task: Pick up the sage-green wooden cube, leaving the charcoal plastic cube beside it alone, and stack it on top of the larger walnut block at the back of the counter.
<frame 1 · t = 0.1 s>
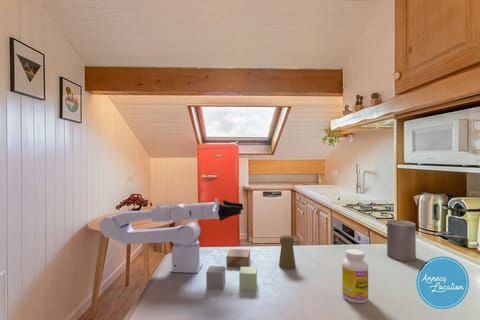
hand: (241, 208, 95), 22 cm above the worktop, tool horizontal, fingers open, 7 cm apart
green cube: (248, 286, 83), on the worktop
supplement bottle: (355, 298, 75), on the worktop
pillar candle: (401, 257, 106), on the worktop
cork: (287, 266, 99), on the worktop
grey cube: (216, 285, 84), on the worktop
walnut block: (238, 263, 103), on the worktop
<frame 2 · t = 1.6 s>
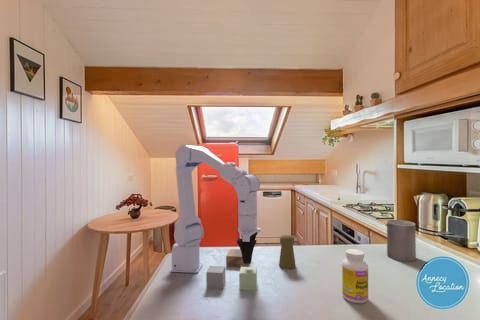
hand: (248, 258, 83), 8 cm above the worktop, tool pointing down, fingers open, 7 cm apart
nothing on the worktop moved.
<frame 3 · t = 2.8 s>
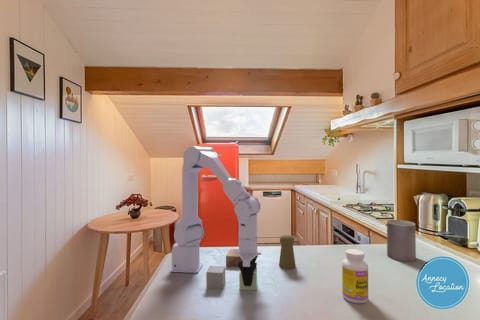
hand: (248, 281, 83), 1 cm above the worktop, tool pointing down, fingers closed on green cube, 5 cm apart
green cube: (248, 286, 83), on the worktop, touching gripper
everything else where it was.
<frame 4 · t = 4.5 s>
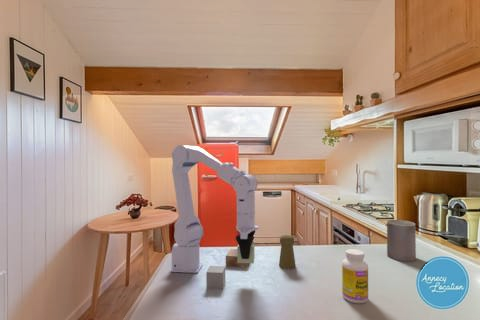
hand: (246, 255, 86), 8 cm above the worktop, tool pointing down, fingers closed on green cube, 5 cm apart
green cube: (246, 260, 86), point 7 cm above the worktop, touching gripper
everything else where it was.
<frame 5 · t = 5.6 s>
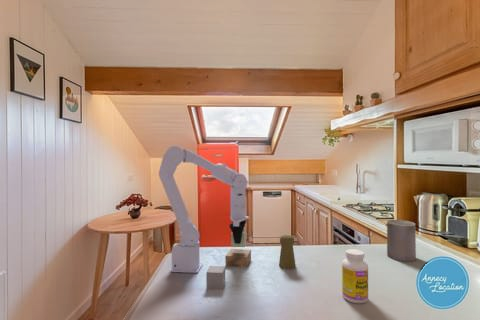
hand: (238, 241, 103), 8 cm above the worktop, tool pointing down, fingers closed on green cube, 5 cm apart
green cube: (238, 244, 103), point 7 cm above the worktop, touching gripper
everything else where it was.
when the fingers open (6 cm above the worktop, at t = 6.4 s): green cube drops 1 cm, resting on walnut block.
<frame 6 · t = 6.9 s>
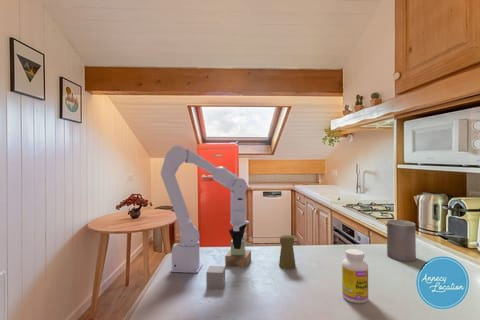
hand: (238, 245, 103), 6 cm above the worktop, tool pointing down, fingers open, 7 cm apart
green cube: (238, 252, 103), point 4 cm above the worktop, touching walnut block
walnut block: (238, 263, 103), on the worktop, touching green cube
everything else where it was.
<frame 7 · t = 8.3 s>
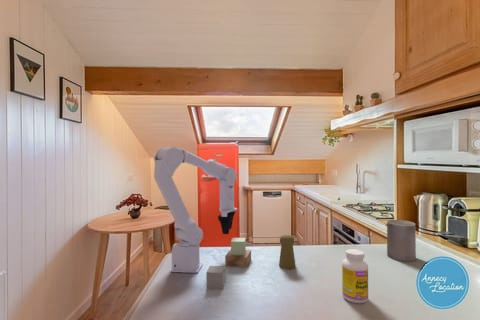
hand: (227, 231, 108), 10 cm above the worktop, tool pointing down, fingers open, 7 cm apart
nothing on the worktop moved.
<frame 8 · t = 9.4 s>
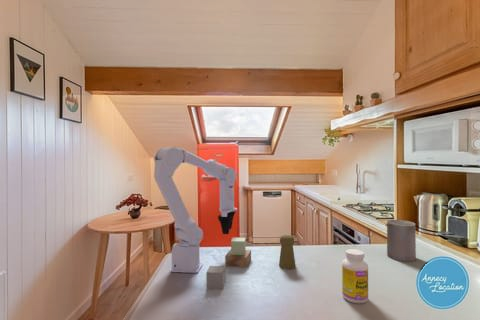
hand: (227, 231, 108), 10 cm above the worktop, tool pointing down, fingers open, 7 cm apart
green cube: (238, 252, 103), point 4 cm above the worktop
walnut block: (238, 263, 103), on the worktop
everything else where it was.
at the end: green cube 0.1 cm off-centre on the walnut block, point 4.0 cm above the walnut block's base; green cube tilted 0°; grey cube moved 0.1 cm from its start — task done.
